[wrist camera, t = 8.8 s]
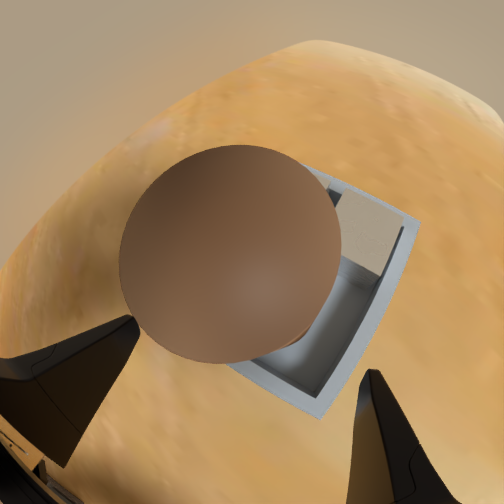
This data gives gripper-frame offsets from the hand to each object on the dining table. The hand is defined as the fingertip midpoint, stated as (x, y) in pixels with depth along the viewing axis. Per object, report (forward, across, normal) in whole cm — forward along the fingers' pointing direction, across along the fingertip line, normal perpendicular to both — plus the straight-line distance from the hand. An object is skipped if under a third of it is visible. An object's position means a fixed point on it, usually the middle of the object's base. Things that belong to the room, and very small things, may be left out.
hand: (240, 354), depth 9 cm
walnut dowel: (+8, 0, +4) cm, 9 cm away
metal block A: (+11, -4, 0) cm, 12 cm away
